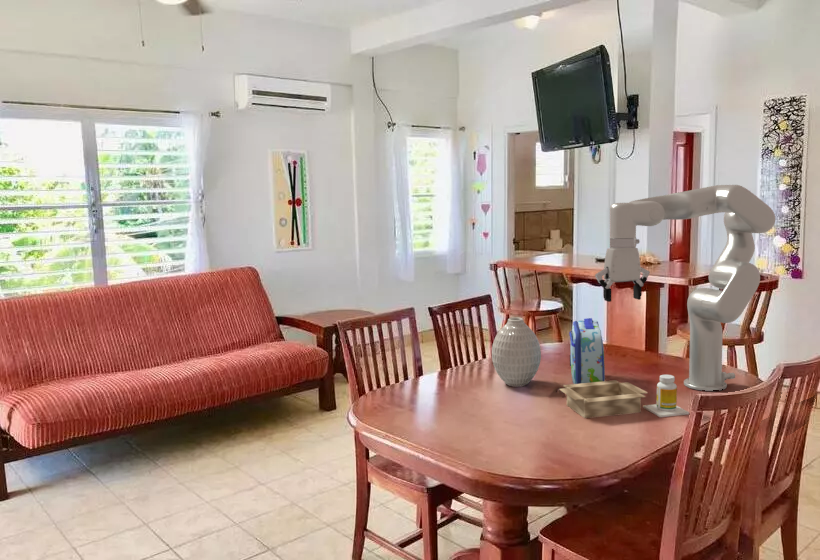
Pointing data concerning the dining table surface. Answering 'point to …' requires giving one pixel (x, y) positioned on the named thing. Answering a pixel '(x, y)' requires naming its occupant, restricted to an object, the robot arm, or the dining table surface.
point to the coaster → (665, 413)
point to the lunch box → (586, 352)
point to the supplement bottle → (666, 393)
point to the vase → (516, 353)
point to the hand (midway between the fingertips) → (622, 300)
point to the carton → (603, 398)
